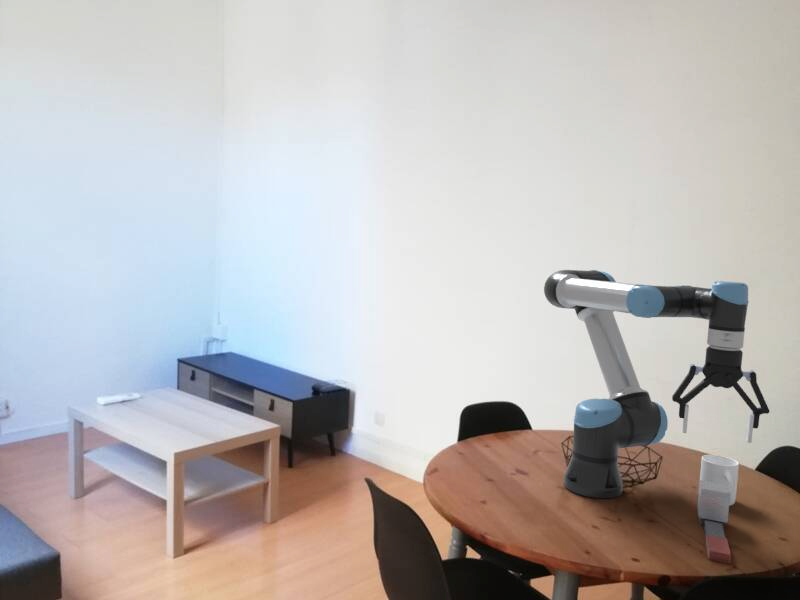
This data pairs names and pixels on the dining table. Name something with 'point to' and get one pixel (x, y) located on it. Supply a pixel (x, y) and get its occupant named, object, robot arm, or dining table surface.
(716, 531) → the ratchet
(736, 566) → the dining table surface
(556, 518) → the dining table surface
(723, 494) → the white ridged cube
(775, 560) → the dining table surface
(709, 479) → the mug
